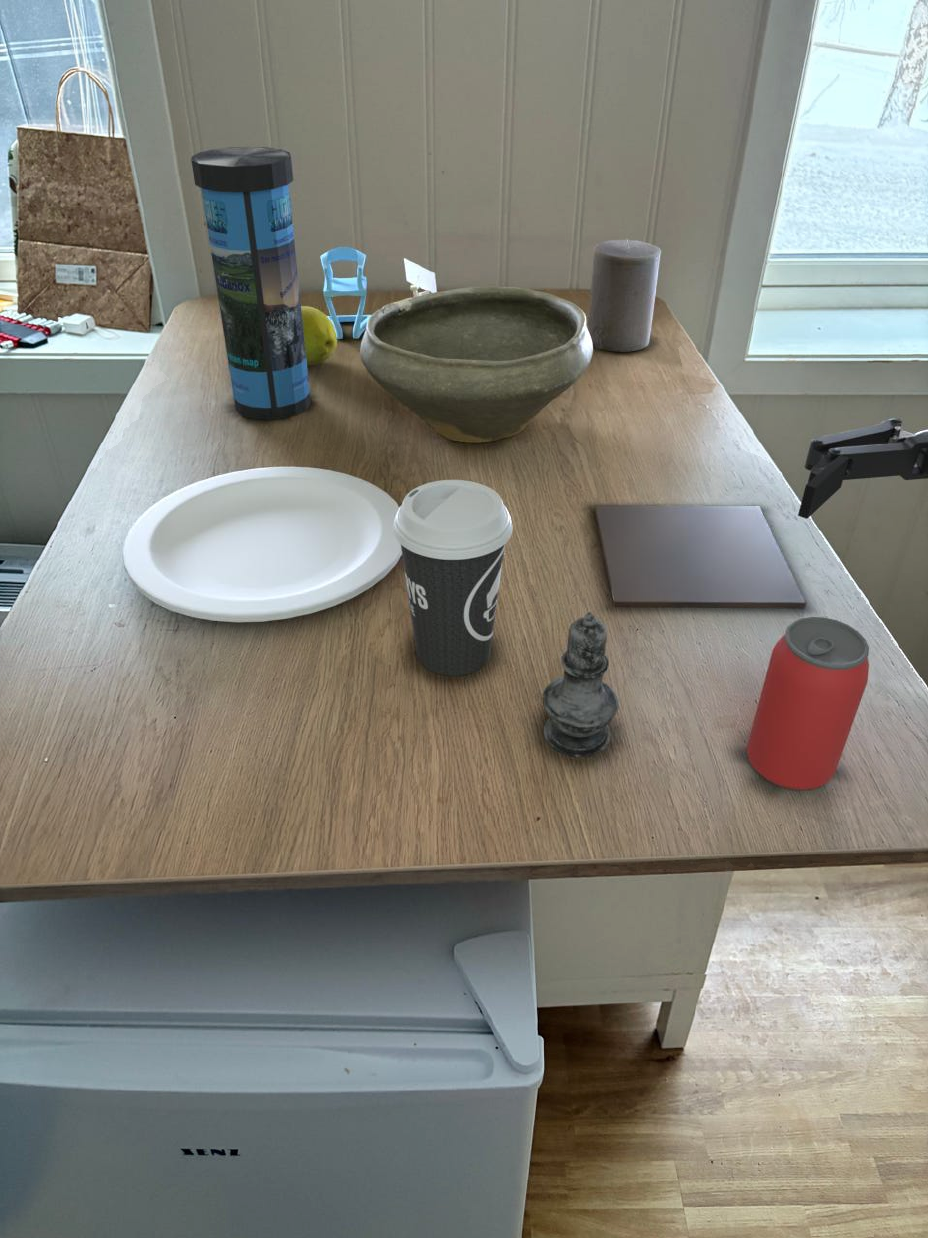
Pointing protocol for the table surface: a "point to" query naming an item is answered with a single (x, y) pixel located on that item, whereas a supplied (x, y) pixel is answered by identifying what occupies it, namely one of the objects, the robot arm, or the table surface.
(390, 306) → the bowl
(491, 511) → the coffee cup
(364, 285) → the chair
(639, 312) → the pillar candle
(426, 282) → the white panel on stand
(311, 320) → the lemon
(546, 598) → the table surface
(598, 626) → the salt shaker
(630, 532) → the back mat
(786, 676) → the beer can
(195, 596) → the plate
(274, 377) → the advertising column
